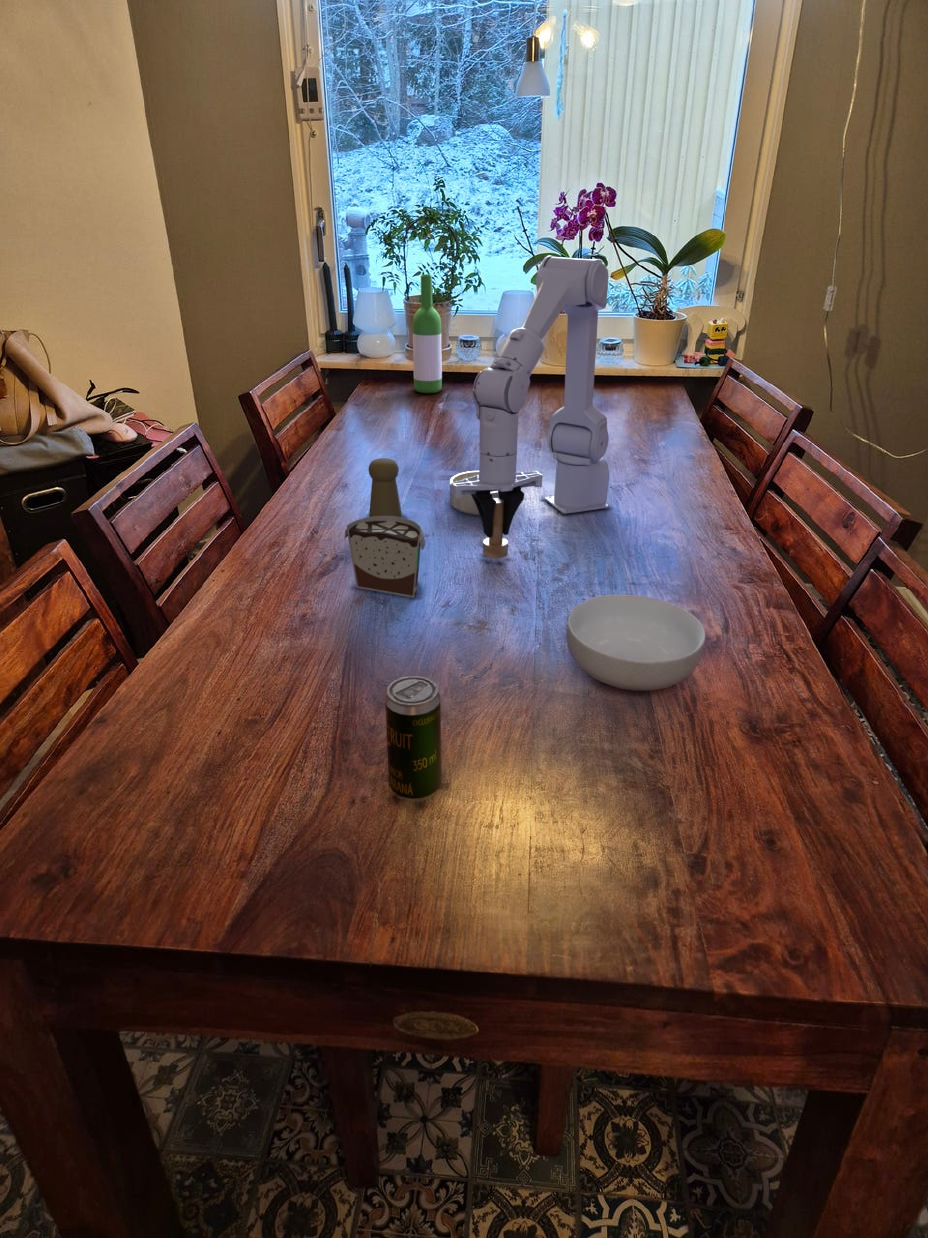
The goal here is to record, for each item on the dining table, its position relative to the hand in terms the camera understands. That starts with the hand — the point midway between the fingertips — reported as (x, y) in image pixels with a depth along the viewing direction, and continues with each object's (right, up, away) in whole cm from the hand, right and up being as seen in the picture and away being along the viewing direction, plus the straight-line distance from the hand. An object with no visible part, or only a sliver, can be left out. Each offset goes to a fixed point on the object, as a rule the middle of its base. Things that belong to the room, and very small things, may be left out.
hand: (495, 533), depth 130 cm
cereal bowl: (+16, -21, -27) cm, 37 cm away
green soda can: (-10, -31, -46) cm, 56 cm away
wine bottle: (-15, +50, +98) cm, 111 cm away
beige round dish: (-2, +8, +23) cm, 24 cm away
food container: (-16, -8, -6) cm, 19 cm away
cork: (-19, +4, +16) cm, 26 cm away
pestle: (0, -3, +2) cm, 3 cm away
